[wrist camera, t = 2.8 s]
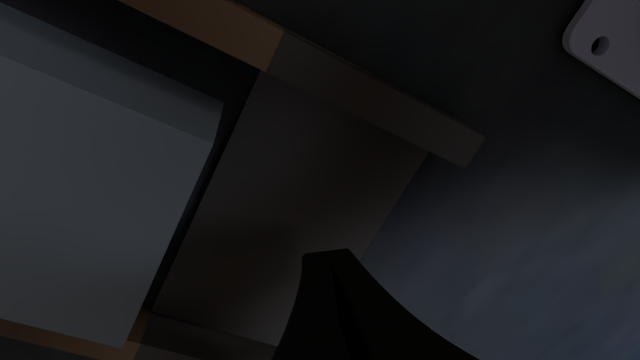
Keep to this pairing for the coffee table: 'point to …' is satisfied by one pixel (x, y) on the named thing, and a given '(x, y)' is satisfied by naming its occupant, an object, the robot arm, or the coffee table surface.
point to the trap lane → (276, 189)
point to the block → (89, 178)
